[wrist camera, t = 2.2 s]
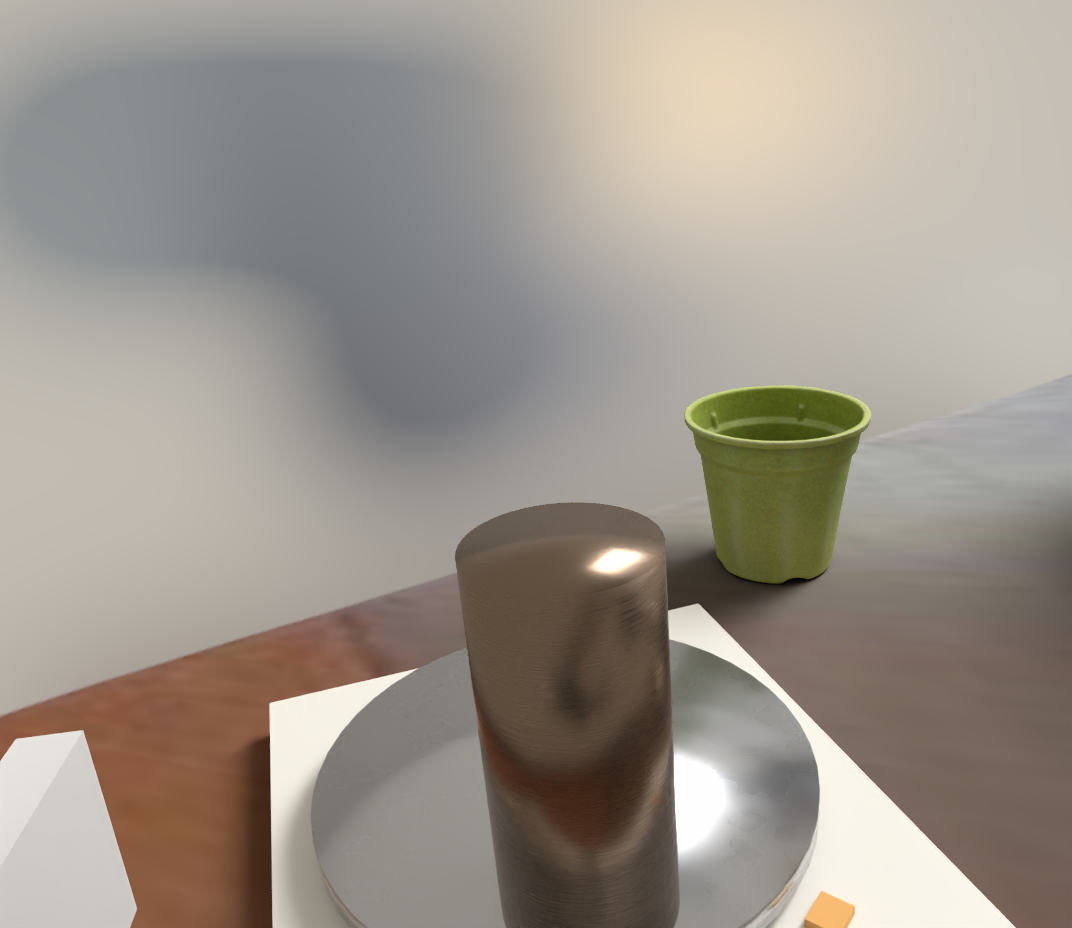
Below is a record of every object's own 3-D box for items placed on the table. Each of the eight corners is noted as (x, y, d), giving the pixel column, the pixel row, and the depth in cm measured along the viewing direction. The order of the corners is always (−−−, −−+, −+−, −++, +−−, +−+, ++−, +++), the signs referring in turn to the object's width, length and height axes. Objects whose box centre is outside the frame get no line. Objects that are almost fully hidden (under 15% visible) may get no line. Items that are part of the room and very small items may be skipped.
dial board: (699, 630, 43) (698, 597, 43) (1016, 974, 25) (1023, 926, 24) (276, 732, 38) (268, 697, 38) (288, 1245, 20) (273, 1194, 20)
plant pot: (884, 540, 50) (892, 393, 47) (833, 618, 43) (838, 450, 40) (728, 514, 56) (726, 379, 52) (659, 580, 48) (652, 428, 45)
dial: (341, 678, 38) (290, 412, 34) (726, 626, 40) (722, 363, 35) (276, 1057, 22) (167, 647, 18) (922, 950, 24) (957, 543, 20)
